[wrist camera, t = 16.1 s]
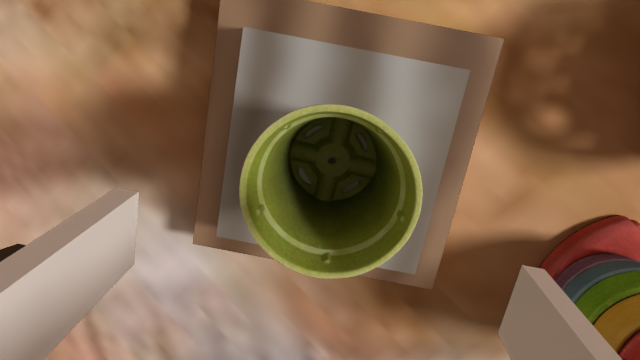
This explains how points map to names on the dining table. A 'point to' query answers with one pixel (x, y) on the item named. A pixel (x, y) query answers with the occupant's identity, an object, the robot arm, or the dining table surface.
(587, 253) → the stacking bear
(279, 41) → the stepped square platform
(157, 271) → the dining table surface
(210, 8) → the dining table surface
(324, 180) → the plant pot
